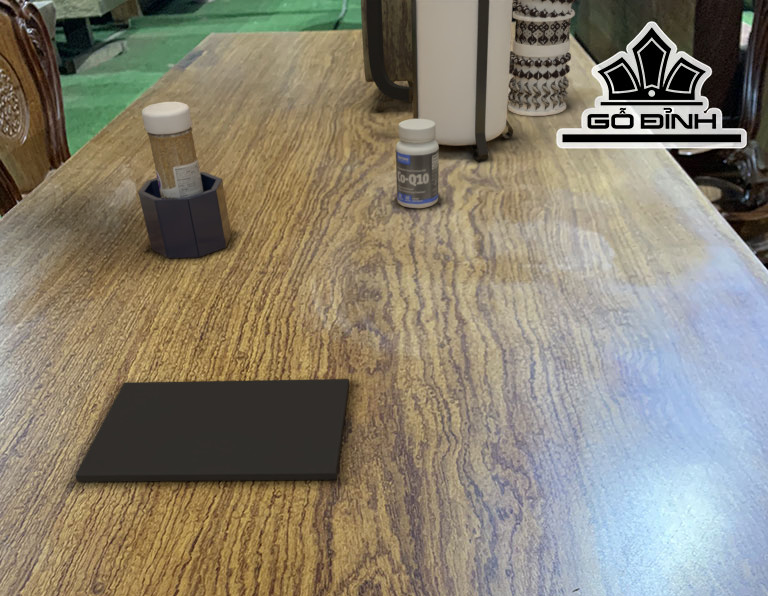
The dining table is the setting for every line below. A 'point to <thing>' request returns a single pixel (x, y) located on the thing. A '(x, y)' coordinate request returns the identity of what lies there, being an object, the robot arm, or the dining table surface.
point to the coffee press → (453, 68)
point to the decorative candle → (540, 57)
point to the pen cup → (186, 219)
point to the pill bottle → (417, 164)
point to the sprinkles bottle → (173, 149)
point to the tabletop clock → (391, 43)
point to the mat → (220, 432)
